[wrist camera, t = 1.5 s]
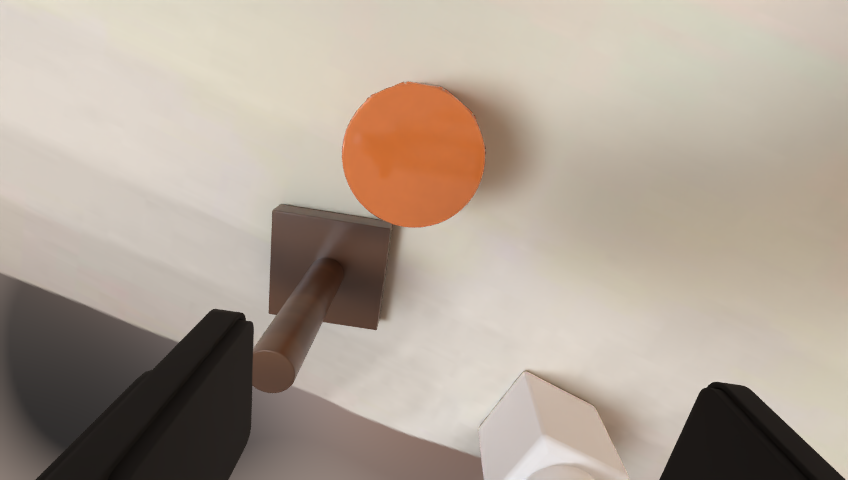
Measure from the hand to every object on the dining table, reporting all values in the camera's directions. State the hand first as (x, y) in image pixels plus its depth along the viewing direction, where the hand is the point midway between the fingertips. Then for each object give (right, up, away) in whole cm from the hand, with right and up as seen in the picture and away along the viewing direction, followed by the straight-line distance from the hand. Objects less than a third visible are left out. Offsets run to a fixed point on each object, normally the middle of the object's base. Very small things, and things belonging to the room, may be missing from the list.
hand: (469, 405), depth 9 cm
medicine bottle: (+8, -11, +27) cm, 31 cm away
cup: (-1, +10, +19) cm, 22 cm away
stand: (-8, +2, +23) cm, 24 cm away
